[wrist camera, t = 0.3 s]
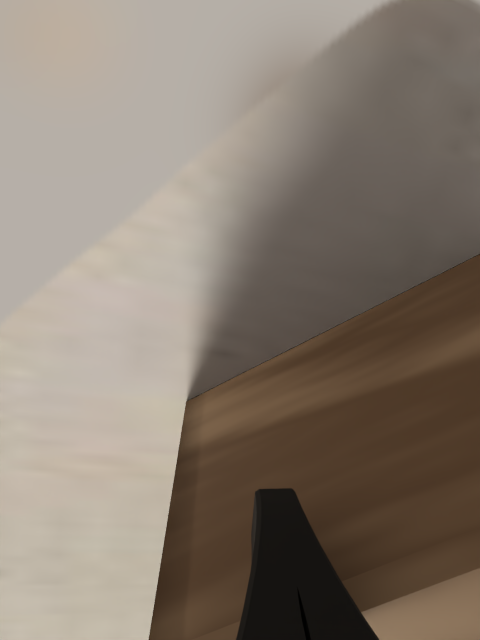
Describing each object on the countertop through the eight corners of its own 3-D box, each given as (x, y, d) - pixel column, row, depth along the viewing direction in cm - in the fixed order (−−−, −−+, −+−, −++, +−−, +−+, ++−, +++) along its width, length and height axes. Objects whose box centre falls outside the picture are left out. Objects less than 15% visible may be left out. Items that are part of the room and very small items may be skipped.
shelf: (561, 428, 24) (907, 706, 12) (288, 541, 27) (341, 858, 15) (507, 240, 19) (987, 379, 7) (186, 401, 22) (139, 694, 10)
